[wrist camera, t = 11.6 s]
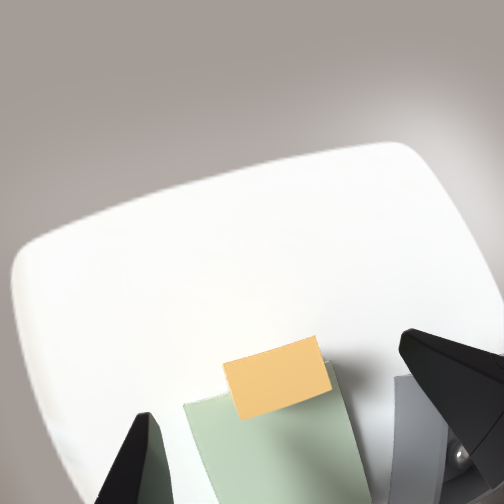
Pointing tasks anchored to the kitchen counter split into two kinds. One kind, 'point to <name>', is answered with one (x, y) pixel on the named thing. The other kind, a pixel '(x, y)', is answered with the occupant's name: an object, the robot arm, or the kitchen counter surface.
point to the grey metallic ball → (457, 455)
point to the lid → (279, 432)
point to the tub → (427, 454)
